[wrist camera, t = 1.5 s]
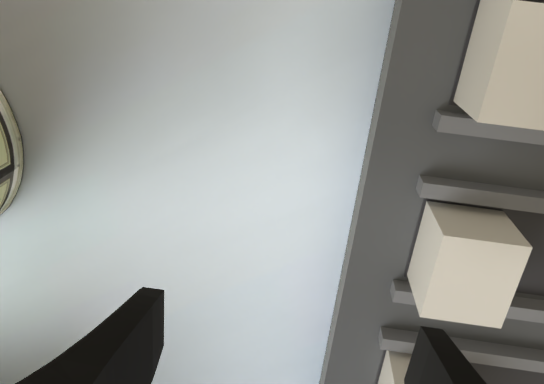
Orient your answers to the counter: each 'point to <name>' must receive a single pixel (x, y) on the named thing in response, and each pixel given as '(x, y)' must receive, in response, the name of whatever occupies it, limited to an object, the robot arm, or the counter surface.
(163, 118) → the counter surface
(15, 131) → the coffee can
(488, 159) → the switch panel
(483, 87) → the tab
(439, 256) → the tab middle
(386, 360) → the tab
